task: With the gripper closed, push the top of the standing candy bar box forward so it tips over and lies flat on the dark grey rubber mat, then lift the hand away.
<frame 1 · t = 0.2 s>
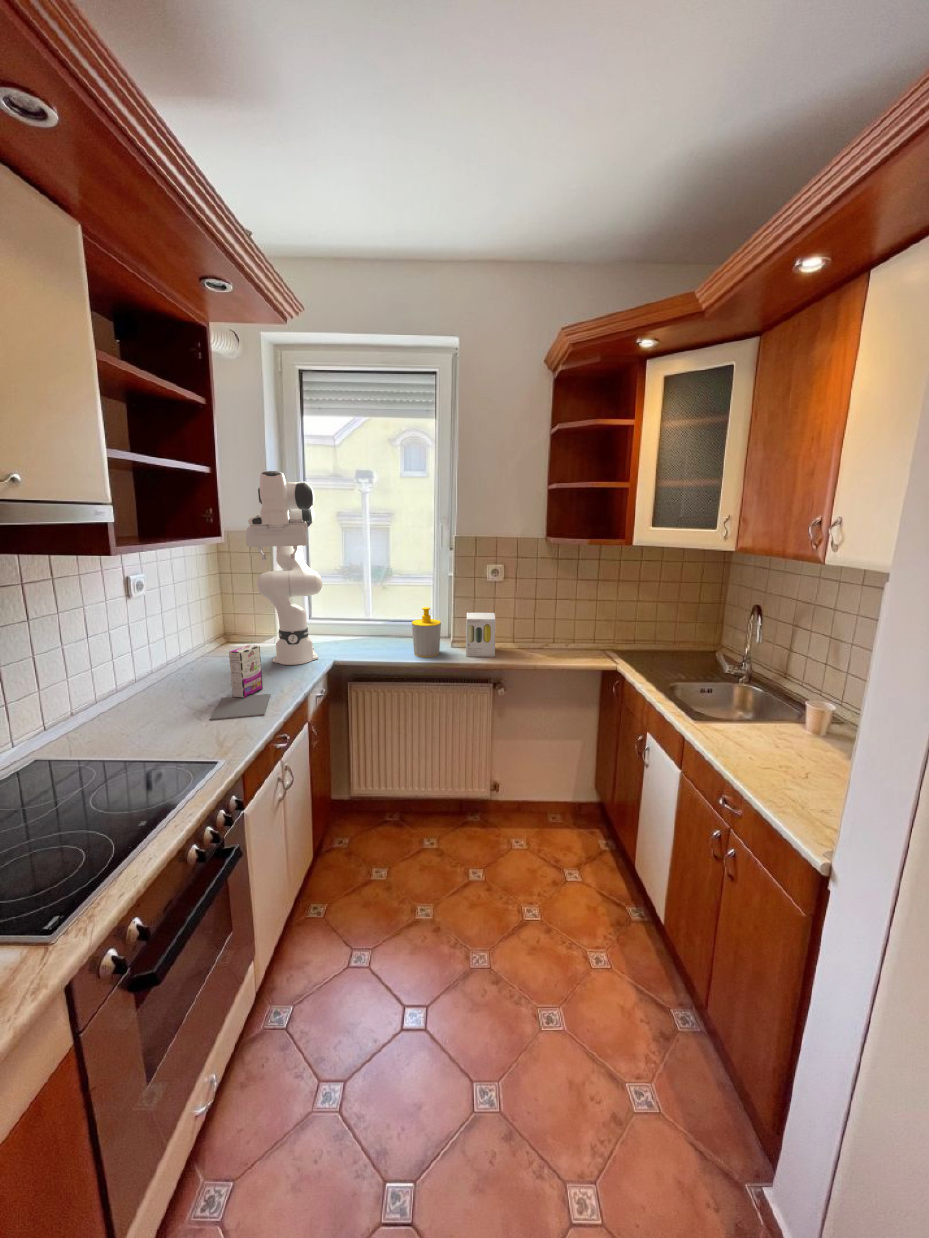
hand: (278, 559, 177), 47 cm above the worktop, tool pointing down, fingers open, 8 cm apart
soap bottle: (426, 653, 228), on the worktop
supplement box: (480, 653, 230), on the worktop
candy bar box: (247, 693, 179), on the worktop, touching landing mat
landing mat: (242, 706, 167), on the worktop
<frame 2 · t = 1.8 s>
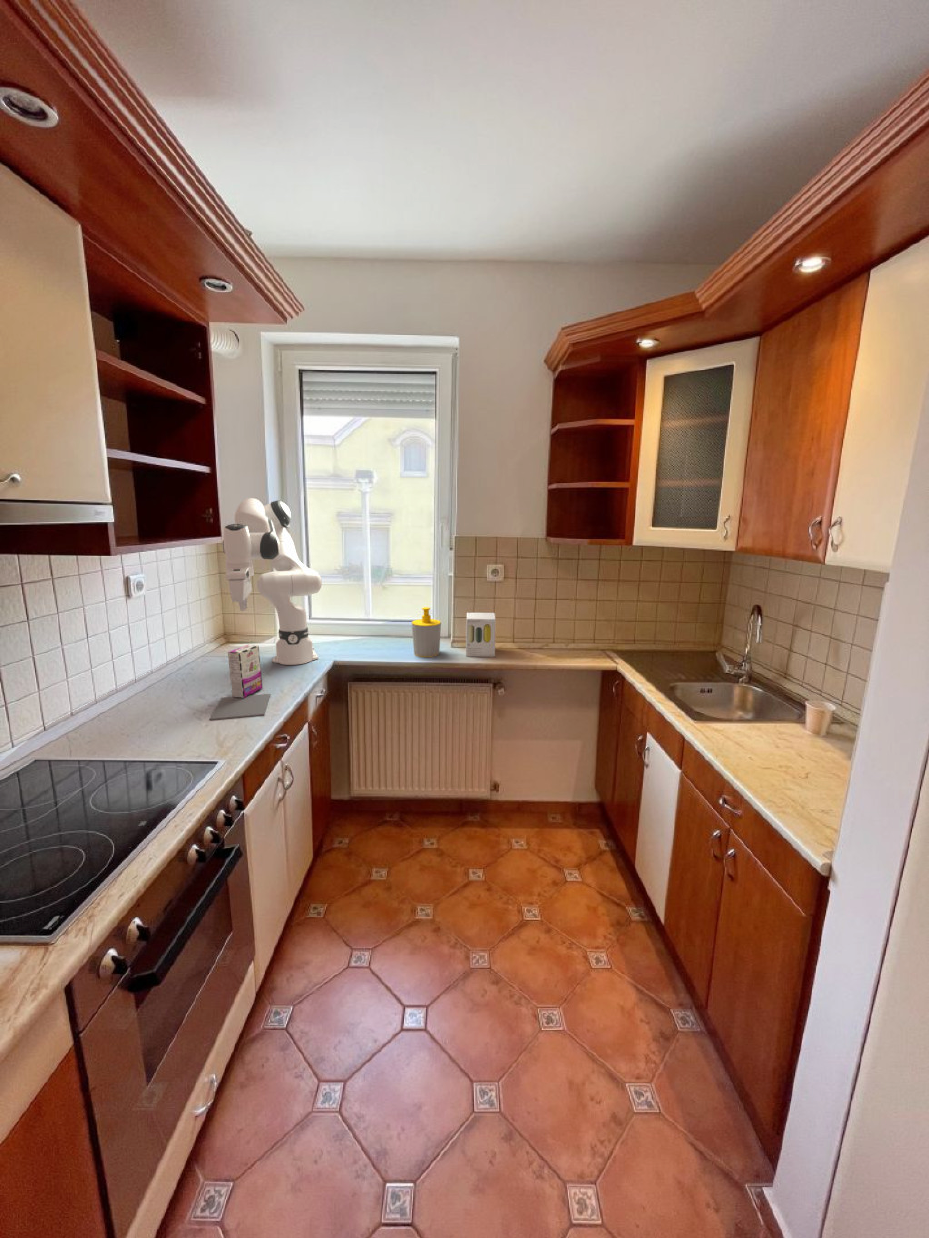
hand: (243, 609, 180), 29 cm above the worktop, tool pointing down, fingers closed
nothing on the worktop moved.
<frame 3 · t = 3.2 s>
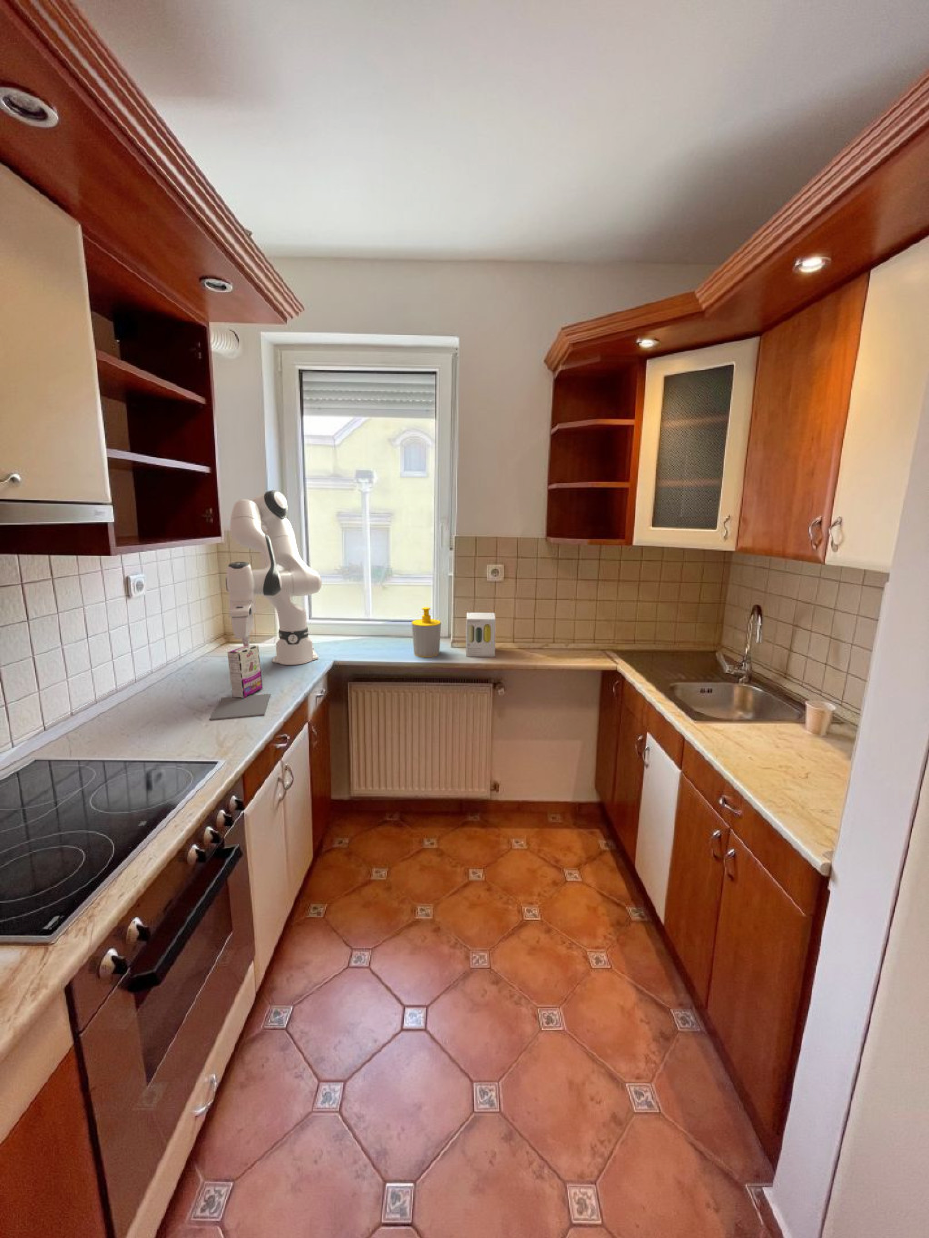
hand: (246, 645, 182), 16 cm above the worktop, tool pointing down, fingers closed, pressing on candy bar box
candy bar box: (247, 693, 179), on the worktop, touching gripper, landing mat
everything else where it was.
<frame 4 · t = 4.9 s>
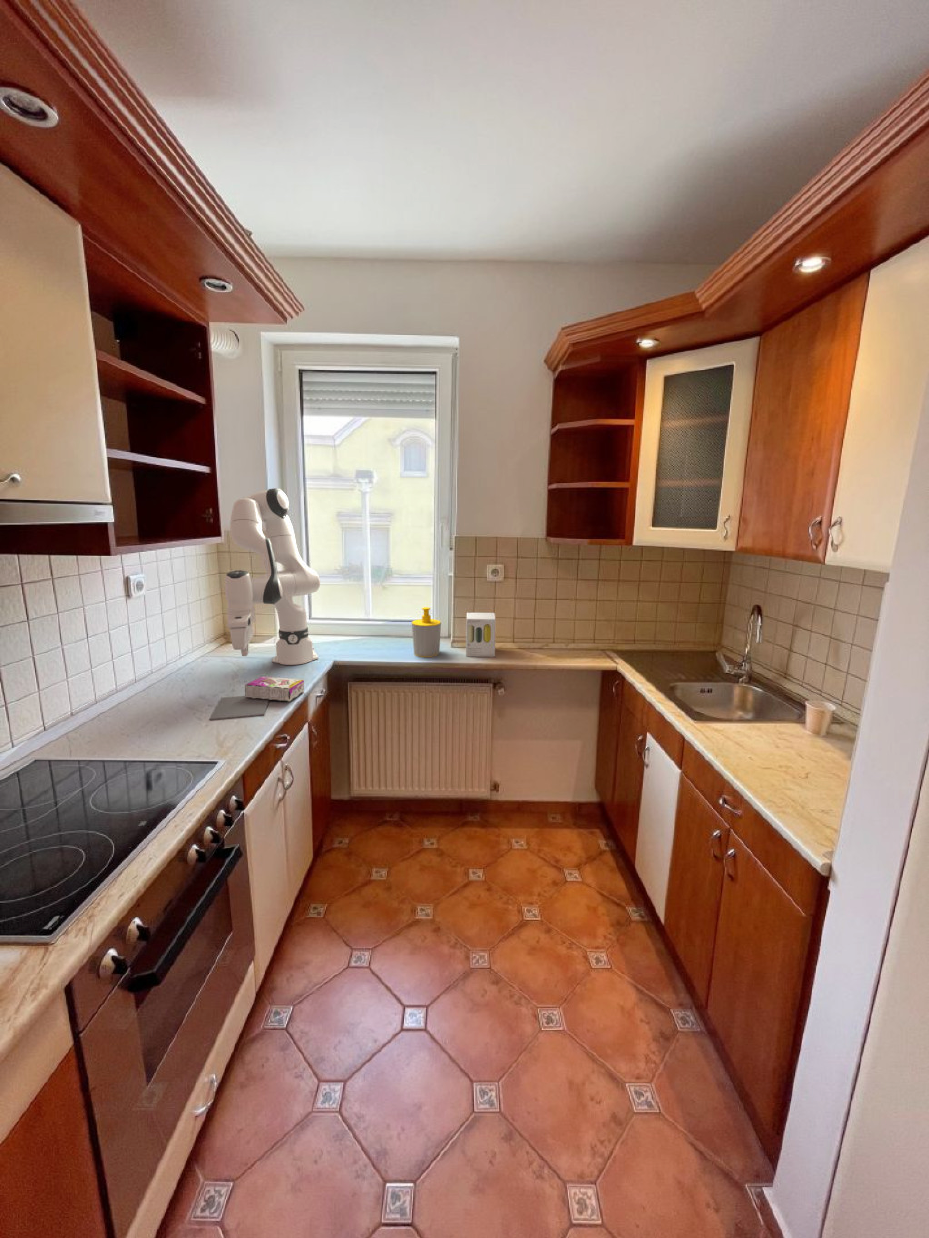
hand: (245, 655, 179), 13 cm above the worktop, tool pointing down, fingers closed
candy bar box: (252, 686, 177), point 3 cm above the worktop, touching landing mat
everything else where it was.
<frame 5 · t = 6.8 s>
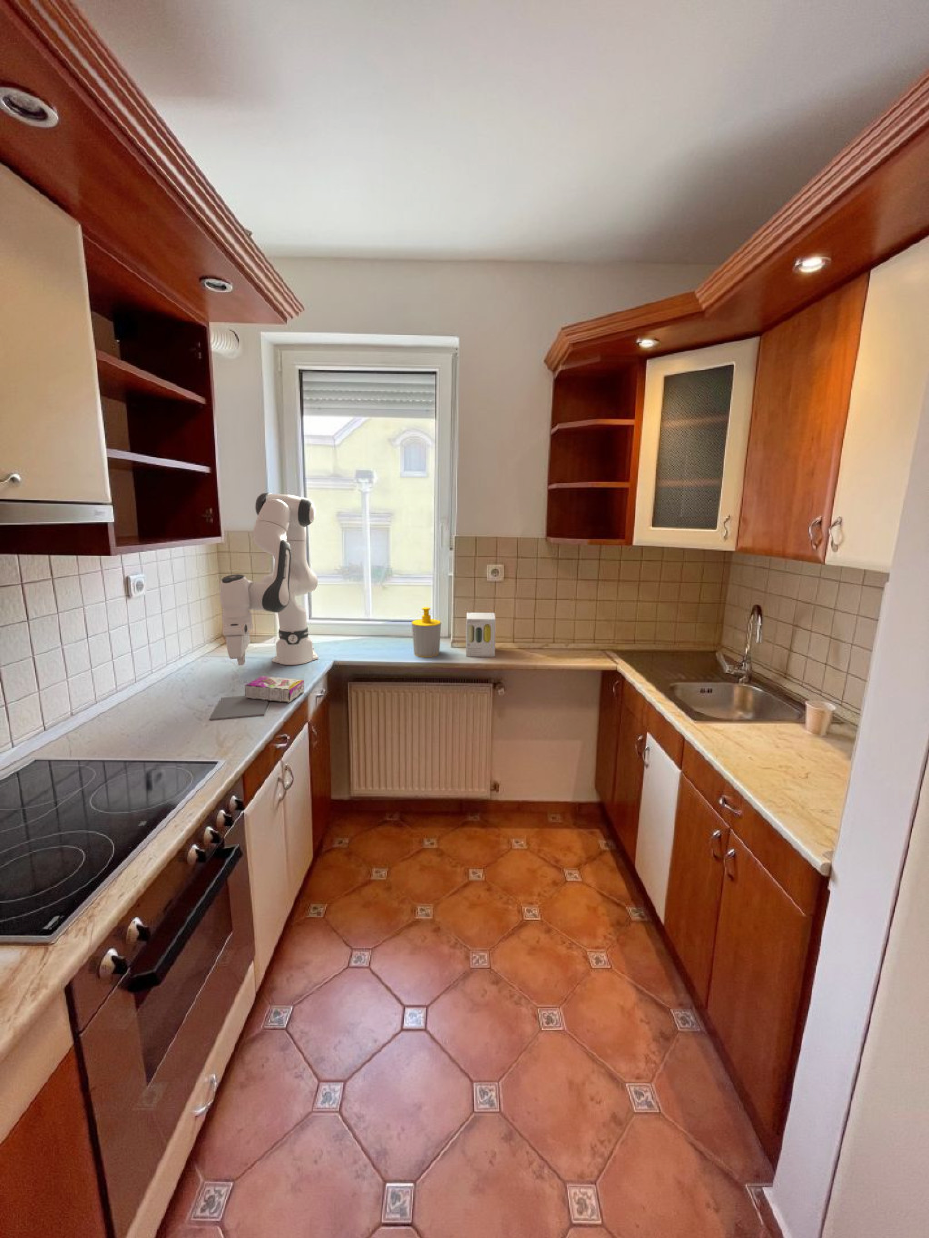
hand: (241, 664, 169), 13 cm above the worktop, tool pointing down, fingers closed
nothing on the worktop moved.
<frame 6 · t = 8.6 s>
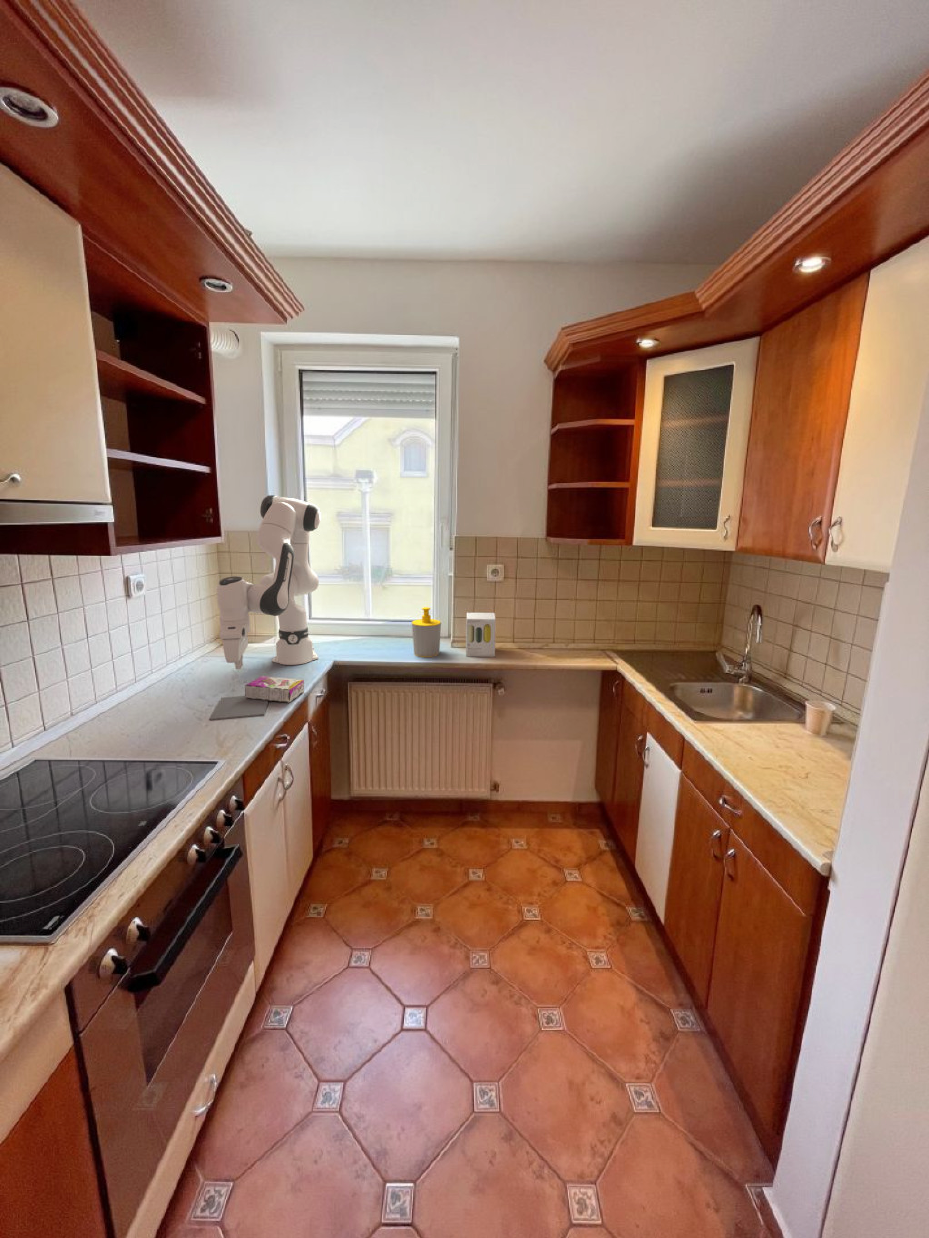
hand: (239, 667, 166), 13 cm above the worktop, tool pointing down, fingers closed
nothing on the worktop moved.
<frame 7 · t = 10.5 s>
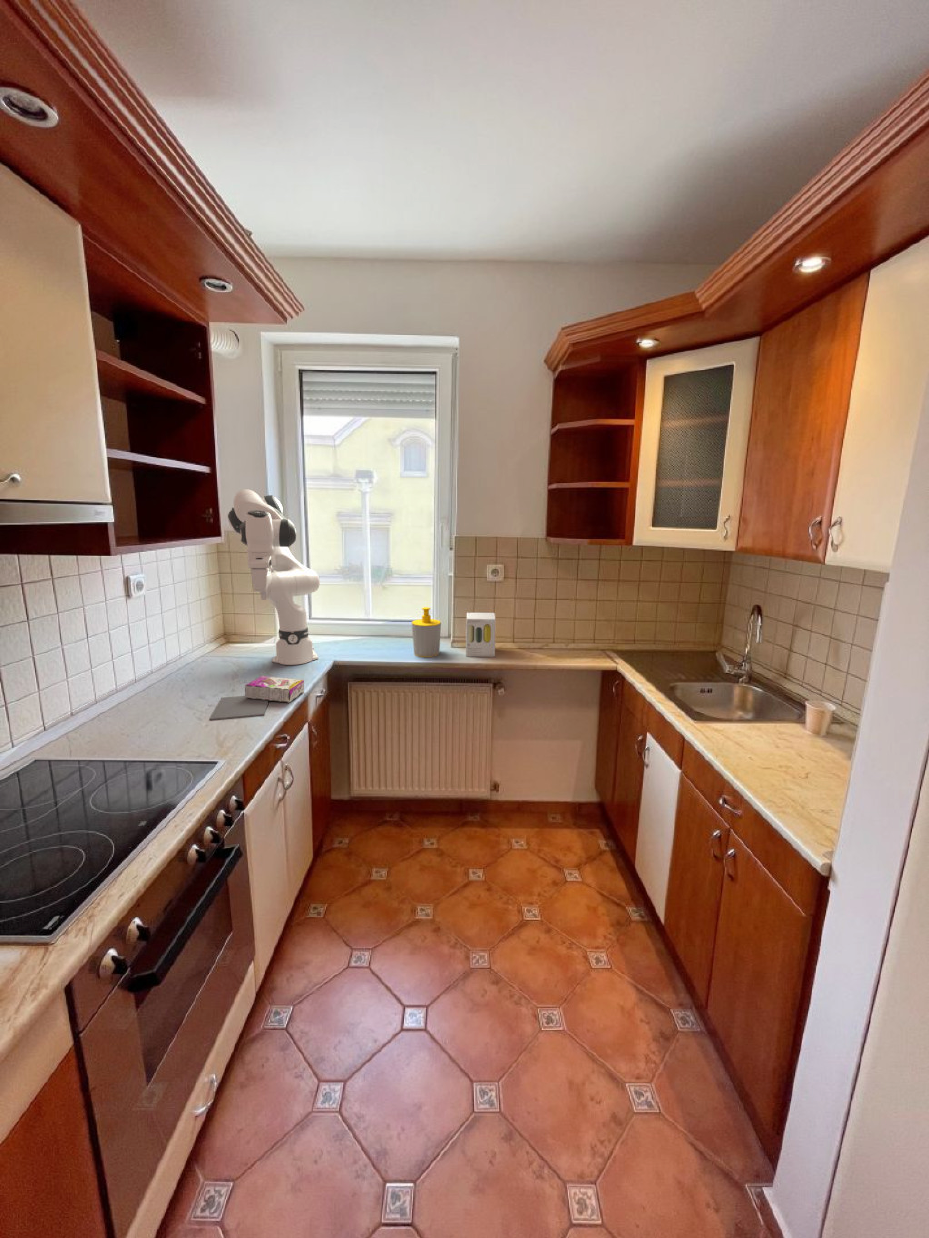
hand: (264, 599, 175), 34 cm above the worktop, tool pointing down, fingers closed
nothing on the worktop moved.
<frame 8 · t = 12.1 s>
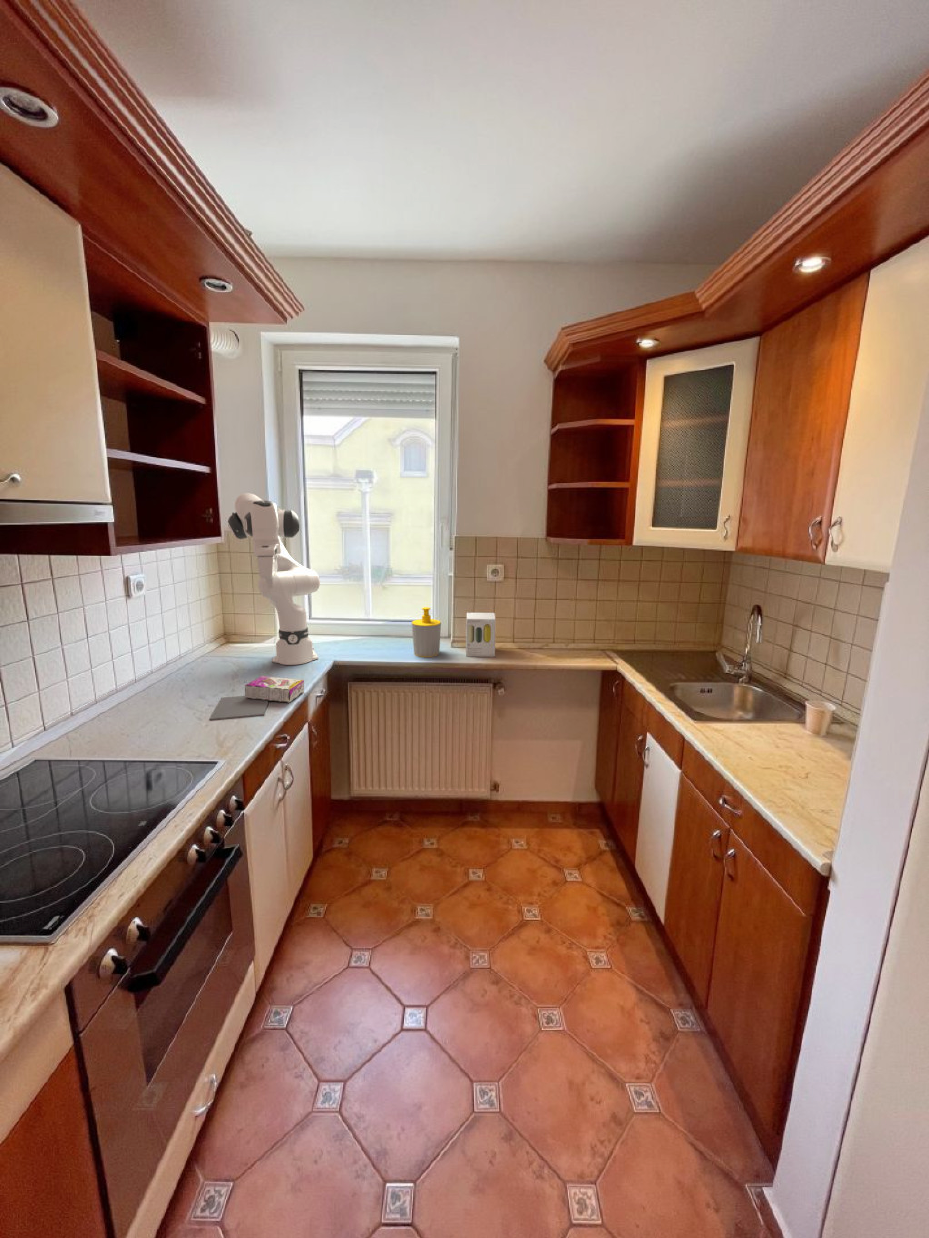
hand: (270, 587, 177), 37 cm above the worktop, tool pointing down, fingers closed
nothing on the worktop moved.
at the end: candy bar box tilted 93°; candy bar box touching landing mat, worktop; the gripper is holding nothing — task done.
